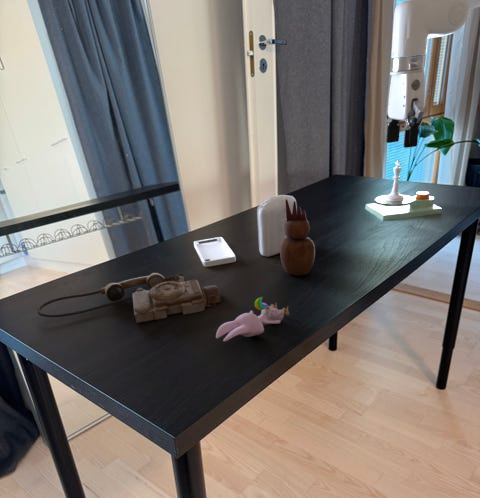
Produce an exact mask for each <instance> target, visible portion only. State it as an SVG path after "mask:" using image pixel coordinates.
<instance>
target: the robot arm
mask: <svg viewBox="0 0 480 498" xmlns="http://www.w3.org/2000/svg"><path fill="white" fill-rule="evenodd" d="M478 8H480V0H404V1H401V2H399V3H398V4H397V5H396V6H395V9H394V12H393V26H392V41H391V44H392V45H391V54H390V55H391V56H390V58H391V59H390V68H389V69H390V70H389V71H390V72H389V75H390V76H391V78H390V84H389V90H388V101H387V105H386V106H385V107H386V119H387V121H386V140H385V141H386V143H387V144H390V143H397V142H400V141H399V140H400V131H401V124H400V122H401V121H402V122H403V121H404V123H405V126H406V127H405V128H406V129H404V137H403V148H404V149H409V148H415V147H417V146H418V142H419V131H420V128H421V123H422V122H423V116H424V113H425V100H426V99H425V96H426V94H425V93H426V76H425V68H426V60H427V59H426V57H427V48H428V40H429V39H431V38H439V37H445V36H450V35H452V34H455V33H456V32H458V31H459V30H460V29H461V28H463V26H464V25H465V23H467V21H468V18H469V14H470V11H471V10H474V9H478Z"/></svg>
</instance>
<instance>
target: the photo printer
mask: <svg viewBox="0 0 480 498" xmlns="http://www.w3.org/2000/svg"><path fill="white" fill-rule="evenodd" d="M286 199H287V200H288V204H289V207H290V210H291V213H292V212H293V204H294V201H295V203H296V209H297V210H298V204H297V200H296V198H295V197H294V196H293V195H287V194H278V195H275V196H272V197H269V198H267V199H266V200H264V201H263V202H262V203H261V204H259V205H258V207H257V209H256V218H257V219H256V220H257V235H258V236H257V237H258V238H257V239H258V251H259V253H260V255H261V256H263V257H272V256H275V255H278V254H280V247H281V242H282V240H283V239H284V238H285V237H287V236H286V235H285V231H284V225H285V222H286V221H287V218H286Z"/></svg>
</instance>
